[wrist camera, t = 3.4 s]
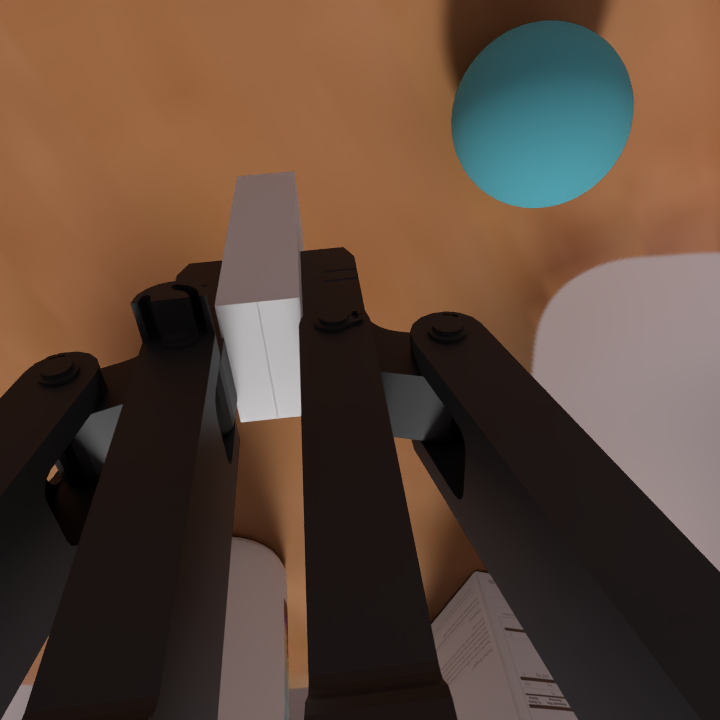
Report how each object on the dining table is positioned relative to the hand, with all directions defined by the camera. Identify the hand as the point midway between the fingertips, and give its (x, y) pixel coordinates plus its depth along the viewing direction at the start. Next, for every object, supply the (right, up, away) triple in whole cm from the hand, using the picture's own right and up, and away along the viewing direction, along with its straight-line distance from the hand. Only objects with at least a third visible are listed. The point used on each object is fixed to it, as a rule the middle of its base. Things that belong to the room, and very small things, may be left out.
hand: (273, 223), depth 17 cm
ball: (+9, +5, +5) cm, 11 cm away
